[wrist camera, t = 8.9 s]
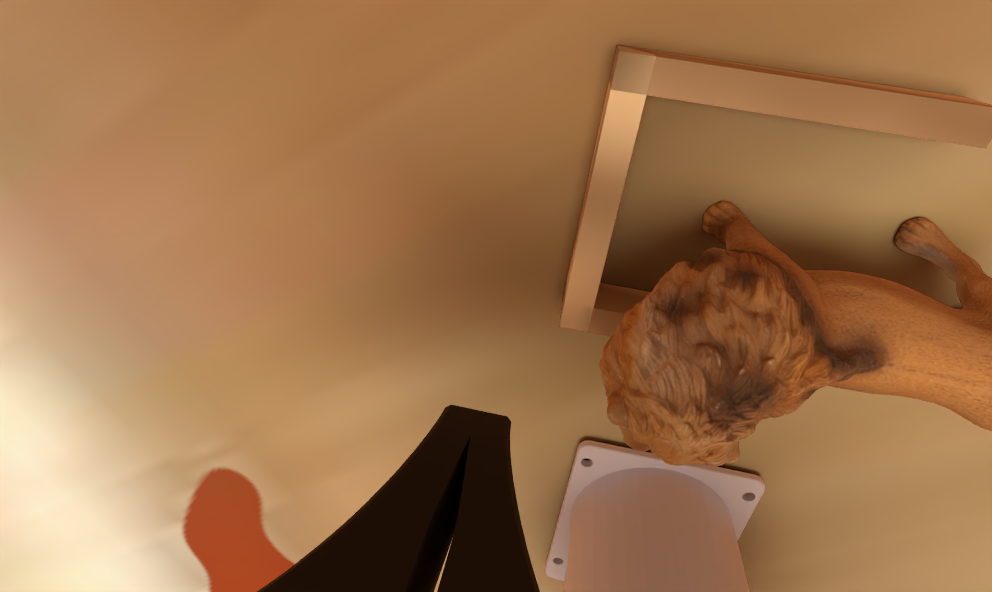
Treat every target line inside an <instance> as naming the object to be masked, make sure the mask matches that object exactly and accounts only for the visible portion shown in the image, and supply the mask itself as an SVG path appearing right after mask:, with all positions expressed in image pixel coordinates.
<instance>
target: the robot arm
mask: <svg viewBox="0 0 992 592" xmlns="http://www.w3.org/2000/svg"><path fill="white" fill-rule="evenodd" d="M510 427H511V421H510V420H509V418H508V417H506V416H502V415H497V414H492V413H488V412H483V411H478V410H474V409H469V408H464V407H459V406H455V405H450V406H448V407H446V408H445V409H444V411H443V413H442V414H441V416H440V417H439V419H438V420H437V422H436V423H435V425H434V426H433V427H432V429H431V430H430V432H429V433H428V434H427V436H426V437H425V438H424V439H423V441H422V442H421V443H420V444H419V446H418V447H417V448H416V449H415V451H414V452H413V453H412V454H411V455H410V456H409V458H408V459H407V460H406V461H405V462H404V463H403V464H402V466H401V467H400V468H399V469H398V470H397V471H396V473H395V474H394V475H393V476H392V477H391V478H390V479H389V480H388V481H387V482H386V483H385V484H384V485H383V486H382V487H381V488H380V489H379V490H378V491H377V492H376V493H375V494H374V495H373V496H372V497H371V498H370V500H369V501H368V502H367V503H366V504H365V505H364V506H362V507H361V508H360V509H359V510H358V511H357V512H356V513H355V514H354V515H353V516H352V517H351V518H350V519H349V520H348V521H346V522H345V523H344V524H343V525H342V526H341V527H340V528H339V529H337V530H336V531H335V532H334V533H333V534H332V535H331V536H329V537H328V538H327V539H326V540H325V541H323V542H322V543H321V544H320V545H319V546H317V547H316V548H315V549H314V550H312V551H311V552H310V553H309V554H307V555H306V556H305V557H304V558H302V559H301V560H300V561H299V562H297V563H296V564H295V565H293V566H292V567H291V568H290V569H288V570H287V571H286V572H284V573H283V574H282V575H280V576H279V577H278V578H276V579H275V580H273V581H272V582H270V583H269V584H268V585H266V586H265V587H263V588H262V589H260V590H259V591H258V592H434V589H435V586H436V583H437V581H438V578H439V575H440V572H441V569H442V566H443V564H444V561H445V558H446V555H447V552H448V549H449V546H450V544H451V546H450V550H449V553H448V557H447V560H446V563H445V567H444V570H443V574H442V577H441V581H440V584H439V588H438V591H437V592H540V591H539V588H538V584H537V581H536V578H535V575H534V571H533V568H532V564H531V561H530V557H529V554H528V550H527V546H526V542H525V538H524V534H523V529H522V525H521V521H520V516H519V511H518V506H517V500H516V494H515V488H514V482H513V475H512V466H511V455H510ZM585 458H588V459H590V460H589V461H587V460H583V459H585ZM764 491H765V485H764V482H763V479H762V478H761V477H760V476H758V475H755V474H750V473H745V472H740V471H735V470H731V469H726V468H721V467H714V466H710V465H706V464H703V465H695V464H691V463H690V464H684V465H681V466H676V465H669V464H667V463H665V462H664V461H663V459H662V458H661V457H658V456H656V455H655V454H653V453H649V452H644V451H637V450H634V449H629V448H625V447H620V446H615V445H610V444H605V443H601V442H596V441H590V440H586V441H583V442H581V443H580V444H579V446H578V448H577V452H576V455H575V459H574V463H573V466H572V470H571V474H570V477H569V481H568V485H567V488H566V492H565V496H564V499H563V503H562V507H561V510H560V514H559V518H558V521H557V525H556V529H555V532H554V536H553V540H552V543H551V547H550V551H549V554H548V558H547V562H546V566H545V573H546V575H547V576H548V577H550V578H553V579H557V580H561V581H564V590H563V592H750V590H749V586H748V582H747V578H746V574H745V570H744V566H743V562H742V558H741V554H740V550H739V546H738V542H737V541H738V539H739V538H740V536H741V534H742V532H743V530H744V528H745V526H746V524H747V523H748V521H749V519H750V517H751V515H752V513H753V511H754V510H755V508H756V506H757V504H758V502H759V500H760V498H761V497H762V495H763V493H764ZM745 493H750V494H745ZM453 535H454V536H453ZM452 538H453V539H452ZM451 541H452V543H451Z"/></svg>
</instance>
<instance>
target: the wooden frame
mask: <svg viewBox="0 0 992 592" xmlns="http://www.w3.org/2000/svg"><path fill="white" fill-rule="evenodd" d="M646 95H649V96H655V97H661V98H668V99H674V100H680V101H687V102H693V103H699V104H706V105H712V106H719V107H725V108H731V109H738V110H744V111H750V112H757V113H763V114H770V115H776V116H782V117H789V118H795V119H801V120H808V121H814V122H821V123H827V124H833V125H840V126H846V127H852V128H859V129H865V130H871V131H878V132H884V133H891V134H897V135H903V136H910V137H916V138H922V139H929V140H935V141H942V142H948V143H954V144H961V145H967V146H973V147H980V148H987V146H988V144H989V142H990V141H991V139H992V105H990V104H987V103H983V102H980V101H976V100H973V99H969V98H966V97H962V96H955V95H948V94H942V93H935V92H928V91H922V90H915V89H909V88H902V87H895V86H889V85H882V84H875V83H869V82H862V81H855V80H849V79H842V78H835V77H829V76H822V75H815V74H809V73H802V72H796V71H789V70H782V69H776V68H769V67H762V66H756V65H749V64H742V63H736V62H729V61H722V60H716V59H709V58H702V57H696V56H689V55H682V54H676V53H669V52H663V51H656V50H649V49H643V48H636V47H629V46H623V45H617V47H616V51H615V56H614V61H613V65H612V70H611V75H610V79H609V84H608V89H607V93H606V98H605V103H604V107H603V112H602V117H601V121H600V126H599V131H598V135H597V140H596V145H595V149H594V154H593V159H592V163H591V168H590V173H589V177H588V182H587V187H586V191H585V196H584V201H583V205H582V210H581V215H580V220H579V224H578V229H577V234H576V238H575V243H574V248H573V252H572V257H571V262H570V266H569V271H568V276H567V280H566V285H565V290H564V294H563V299H562V307H561V316H560V325H559V327H562V328H567V329H573V330H578V331H583V332H588V333H593V334H599V335H604V336H609V337H612V336H613V335H614V333H615V331H616V329H617V326H618V324H619V321H620V320H621V319H623V318H624V314H625V313H626V312H627V311H628V310H630V309H631V308H633V307H634V306H635V304H637V303H639V302H640V301H642V300H643V299H644V298H645V297H646V295H647V294H649V293H650V292H648V291H643V290H637V289H632V288H626V287H621V286H615V285H610V284H605V283H600V280H601V276H602V272H603V268H604V264H605V260H606V256H607V252H608V248H609V244H610V240H611V236H612V232H613V228H614V224H615V220H616V216H617V212H618V208H619V204H620V200H621V196H622V192H623V188H624V184H625V179H626V175H627V171H628V167H629V163H630V159H631V155H632V151H633V147H634V143H635V139H636V135H637V131H638V127H639V123H640V119H641V115H642V111H643V107H644V103H645V99H646Z"/></svg>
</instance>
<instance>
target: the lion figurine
mask: <svg viewBox="0 0 992 592" xmlns="http://www.w3.org/2000/svg"><path fill="white" fill-rule="evenodd" d="M702 228H703V230H704V231H705V232H707V233H710V234H712V235H715V236H716V237H717V239H718V240H719V241H720V242H722V243H724V244H726V250H725V249H719V248H715V247H712V248H710V249H707V250H706V251H705V252H703V253H702V254H701V255H700V256H699V258H698V259H697V260H696V261H680V262H677V263H676V264H675V265H674V266H673V267H672V269H671V270H670V271H667V272H666V273H665V274H664V275H663V277H661V278H660V280H659V282H658V283H657V284H656V286H655V287H654V289H653V291H652V292H650V293H649V294H647V295H646V297H645V298H644V299H643V300H642V301H640V302H639V303H637V304H635V306H634V307H633V308H631V309H630V310H628V311H627V312H626V313H625V314H624V318H623V319H621V320H620V321H619V324H618V326H617V329H616V331H615V333H614V335H613V336H612V337H611V338H610V339H609V341H608V342H607V344H606V345H605V347H604V350H603V354H602V357H601V360H600V362H599V364H600V369H601V372H602V377H603V380H604V385H605V388H606V396H607V397H608V408H607V415H608V418H609V419H610V421H611V422H612V423H613V424H616V425H619V426H620V428H621V431H622V433H623V436H624V441H625V443H626V444H627V445H628V446H630V447H631V448H633V449H635V450H637V451H648V450H651V452H652V453H653V454H655V455H656V456H658V457H661V458H662V459H663V461H664V462H665V463H667V464H669V465H676V466H681V465H684V464H690V463H691V464H695V465H703V464H705V463H707V464H709V465H710V466H714V467H716V466H721V465H723V464H724V463H727V464H729V463H735V462H737V461H738V459H739V453H740V452H739V440H741V439H744V438H746V437H747V436H748V435H750V434H752V433H753V432H754V431H755V426H756V424H757V423H758V422H759V421H760V420H762V419H765V418H769V417H780V416H782V415H784V414H789V413H792V412H793V411H795V410H796V409H797V408H798V407H799V406H800V405H801V404H802V403H803V402H804V401H805V400H806V399H808V398H809V397H810V396H811V395H812V394H813V393H814V392H815V391H816V390H817V389H819V388H822V387H825V386H827V385H828V386H832V387H836V388H842V389H848V390H854V391H860V392H865V393H871V394H883V395H896V396H904V397H910V398H914V399H919V400H923V401H927V402H932V403H935V404H938V405H941V406H943V407H946V408H948V409H950V410H952V411H954V412H955V413H957V414H959V415H960V416H962V417H964V418H965V419H967V420H969V421H970V422H972V423H973V424H975V425H977V426H979V427H981V428H983V429H987V430H990V431H992V278H990V277H988V276H987V275H986V274H984V273H983V271H982V269H981V267H980V265H979V264H978V263H977V262H976V261H975V260H973V259H972V258H970V257H969V256H967V255H966V254H965V253H963V252H962V251H961V250H959V249H958V248H957V247H955V246H954V245H953V244H952V243H951V242H950V241H949V240H948V238H947V237H946V236H945V235H944V233H943V232H942V231H941V230H940V229H939V228H938V227H937V226H936V225H935V224H934V223H933V222H931V221H929V220H927V219H924V218H915V219H912V220H909V221H907V222H905V223H904V224H903V225H902V226H901V228H900V230H899V232H898V234H897V235H896V238H895V243H896V245H897V246H898V248H900V249H901V250H903V251H904V252H906V253H909V254H912V255H915V256H919V257H922V258H925V259H927V260H929V261H931V262H932V263H934V264H935V265H937V266H939V267H940V268H941V269H942V270H944V271H945V272H946V274H947V275H948V276H949V278H950V279H951V280H953V281H954V282H955V283H956V289H957V294H958V297H959V299H960V302H961V304H962V307H963V309H956V308H952V307H950V306H947V305H944V304H942V303H940V302H938V301H936V300H934V299H932V298H930V297H928V296H926V295H924V294H922V293H920V292H918V291H915V290H913V289H911V288H909V287H906V286H904V285H901V284H899V283H896V282H893V281H889V280H886V279H883V278H879V277H874V276H870V275H865V274H861V273H855V272H848V271H837V270H803V269H802V268H801V267H800V266H798V265H797V264H796V263H795V262H793V261H792V260H791V258H789V257H788V256H787V255H786V254H785V253H783V252H782V251H781V250H779V249H778V248H776V247H775V246H774V245H772V244H771V243H770V242H769V241H768V240H767V239H766V238H765V237H764V236H763V235H762V234H760V233H759V232H758V231H757V230H756V229H755V228H754V227H753V225H752V224H751V223H750V222H749V220H748V219H747V218H746V217H745V216H744V214H743V213H742V212H741V211H740V210H739V209H738V208H737V207H736V206H735V205H734V204H732V203H731V202H726V201H720V202H718V203H716V204H713V205H712V206H710V207H709V208H708V209H707V210H706V212H705V213H704V214H703V226H702Z"/></svg>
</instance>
